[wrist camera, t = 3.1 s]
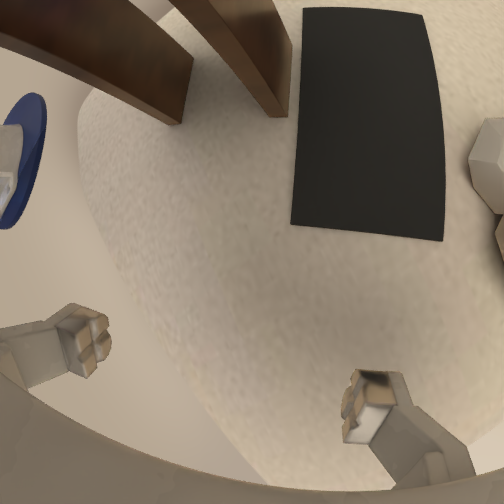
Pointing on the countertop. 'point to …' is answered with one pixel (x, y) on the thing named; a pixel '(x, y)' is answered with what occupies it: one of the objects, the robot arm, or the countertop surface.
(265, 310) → the countertop surface
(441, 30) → the countertop surface
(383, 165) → the charcoal mat
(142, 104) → the walnut stand
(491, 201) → the rock
